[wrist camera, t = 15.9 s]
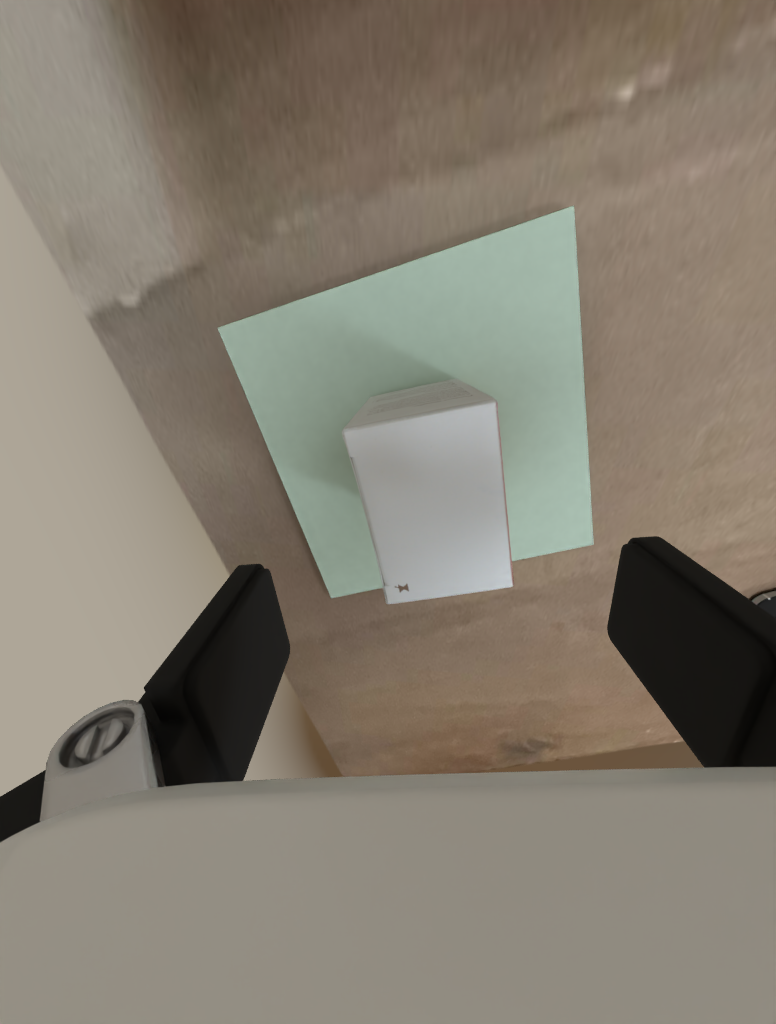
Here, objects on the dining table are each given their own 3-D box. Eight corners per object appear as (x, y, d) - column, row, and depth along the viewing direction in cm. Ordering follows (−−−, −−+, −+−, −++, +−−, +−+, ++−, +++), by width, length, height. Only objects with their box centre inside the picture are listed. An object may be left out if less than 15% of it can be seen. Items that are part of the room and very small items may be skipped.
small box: (473, 497, 25) (517, 592, 15) (393, 511, 25) (386, 610, 16) (458, 374, 21) (502, 396, 12) (367, 394, 22) (338, 429, 12)
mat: (332, 593, 29) (331, 598, 29) (221, 328, 21) (217, 327, 21) (589, 540, 26) (593, 544, 26) (569, 209, 18) (574, 204, 18)
